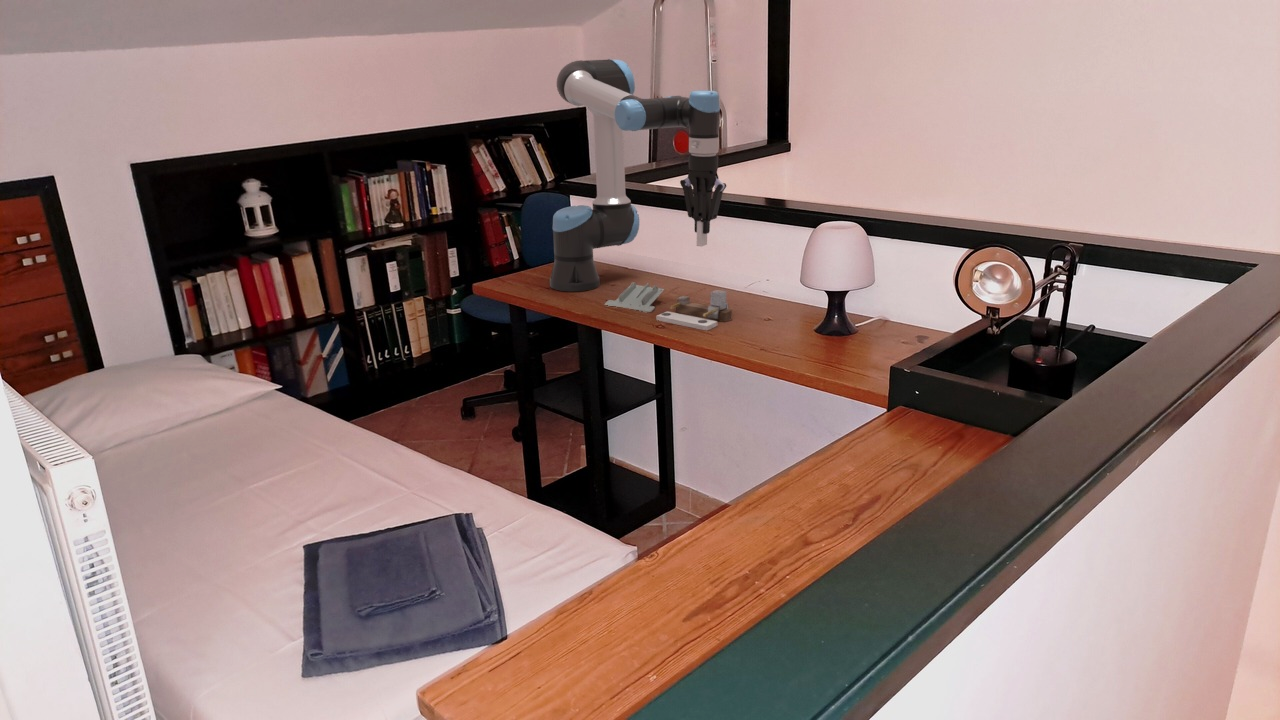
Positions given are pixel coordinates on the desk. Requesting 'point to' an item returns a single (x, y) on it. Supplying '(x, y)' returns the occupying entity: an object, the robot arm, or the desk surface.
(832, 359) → the desk surface
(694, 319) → the hole plate
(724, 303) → the slider
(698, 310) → the brown fixture base
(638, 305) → the metal bracket
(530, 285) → the desk surface
